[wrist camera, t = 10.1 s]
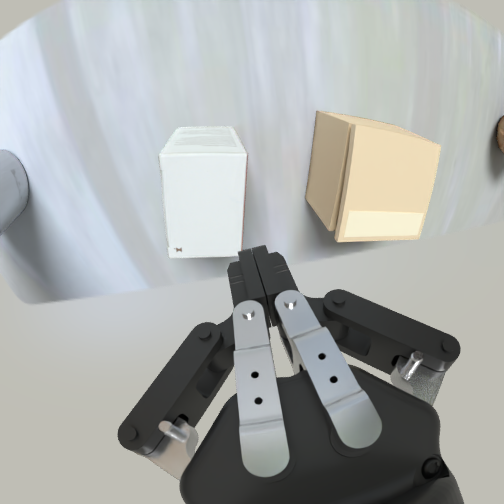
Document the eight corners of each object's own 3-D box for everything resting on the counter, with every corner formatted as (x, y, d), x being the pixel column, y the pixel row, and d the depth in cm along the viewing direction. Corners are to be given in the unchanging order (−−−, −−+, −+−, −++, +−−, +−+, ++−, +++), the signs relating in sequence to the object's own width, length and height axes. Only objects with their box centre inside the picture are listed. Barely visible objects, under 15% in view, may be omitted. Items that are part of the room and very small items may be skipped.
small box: (230, 199, 29) (242, 259, 20) (178, 200, 28) (167, 261, 19) (234, 125, 24) (250, 152, 15) (176, 125, 23) (157, 154, 15)
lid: (334, 238, 23) (337, 242, 22) (351, 123, 18) (356, 124, 17) (414, 235, 25) (419, 239, 24) (436, 143, 19) (441, 145, 19)
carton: (305, 197, 30) (328, 230, 24) (316, 110, 24) (348, 122, 18) (377, 200, 31) (408, 229, 26) (394, 125, 25) (433, 142, 20)
